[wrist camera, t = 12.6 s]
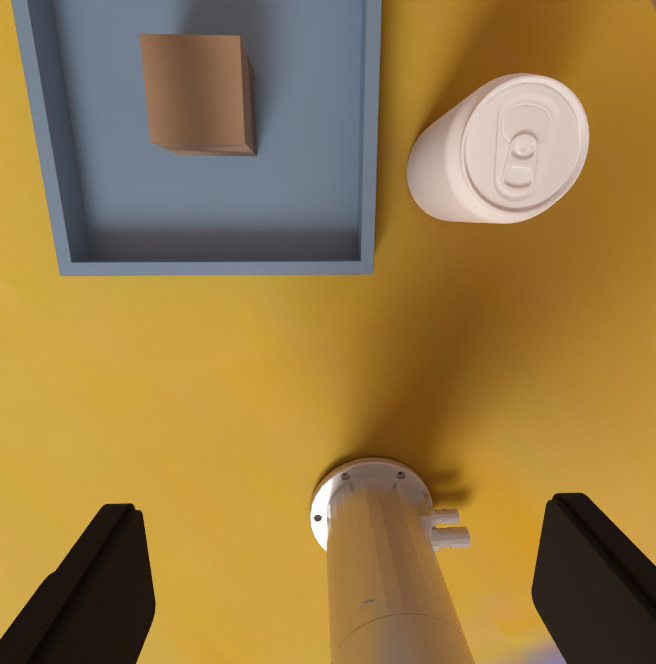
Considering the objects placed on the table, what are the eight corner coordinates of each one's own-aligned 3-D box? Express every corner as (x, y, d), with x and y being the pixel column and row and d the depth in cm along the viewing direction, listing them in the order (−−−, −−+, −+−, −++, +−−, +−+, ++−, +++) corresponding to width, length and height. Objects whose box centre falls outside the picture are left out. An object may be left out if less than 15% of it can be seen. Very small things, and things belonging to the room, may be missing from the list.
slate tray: (375, -68, 29) (385, -111, 26) (367, 268, 36) (373, 274, 32) (32, -77, 29) (-11, -122, 25) (87, 269, 35) (60, 275, 31)
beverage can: (509, 120, 33) (614, 69, 22) (493, 223, 35) (580, 227, 24) (410, 113, 33) (463, 58, 21) (400, 218, 35) (443, 220, 23)
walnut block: (253, 69, 31) (239, 35, 25) (257, 156, 32) (244, 143, 27) (172, 68, 30) (139, 33, 25) (179, 155, 32) (150, 142, 26)
